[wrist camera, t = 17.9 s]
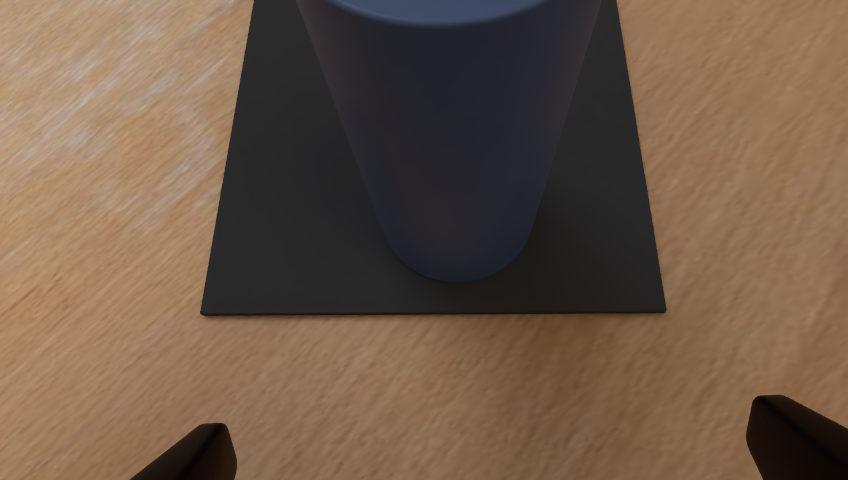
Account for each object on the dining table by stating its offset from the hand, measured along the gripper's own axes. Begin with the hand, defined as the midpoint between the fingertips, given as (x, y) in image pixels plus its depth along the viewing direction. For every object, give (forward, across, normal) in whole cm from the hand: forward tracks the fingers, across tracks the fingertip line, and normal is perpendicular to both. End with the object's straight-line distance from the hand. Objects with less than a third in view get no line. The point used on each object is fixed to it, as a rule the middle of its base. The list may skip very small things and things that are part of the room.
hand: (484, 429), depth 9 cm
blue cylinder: (+11, 0, 0) cm, 11 cm away
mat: (+16, +1, -5) cm, 17 cm away
